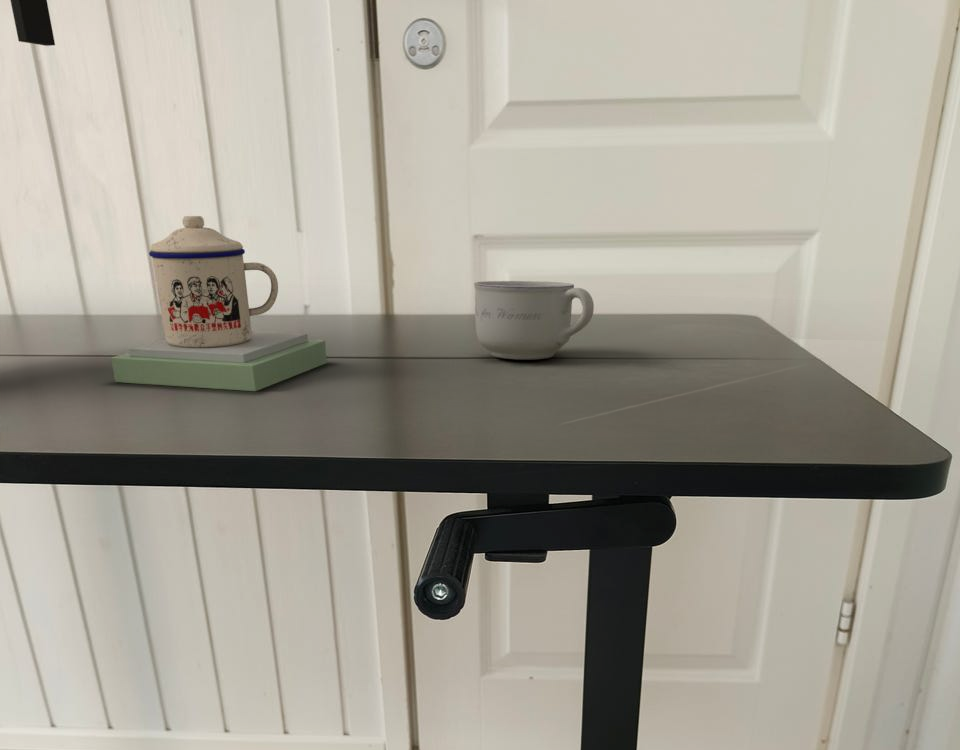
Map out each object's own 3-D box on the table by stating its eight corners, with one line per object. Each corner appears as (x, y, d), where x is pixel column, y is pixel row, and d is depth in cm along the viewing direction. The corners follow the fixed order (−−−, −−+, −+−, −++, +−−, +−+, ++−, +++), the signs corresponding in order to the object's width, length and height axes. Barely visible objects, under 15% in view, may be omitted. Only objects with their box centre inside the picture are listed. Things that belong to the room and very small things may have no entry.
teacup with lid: (162, 350, 89) (140, 219, 83) (164, 336, 97) (145, 215, 91) (287, 344, 92) (274, 216, 86) (279, 331, 99) (267, 213, 94)
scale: (115, 382, 92) (109, 349, 90) (200, 356, 104) (196, 326, 103) (255, 391, 87) (251, 356, 86) (327, 363, 100) (324, 332, 98)
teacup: (455, 356, 102) (453, 280, 99) (524, 345, 109) (525, 273, 105) (543, 374, 93) (545, 291, 89) (613, 361, 99) (618, 282, 96)
